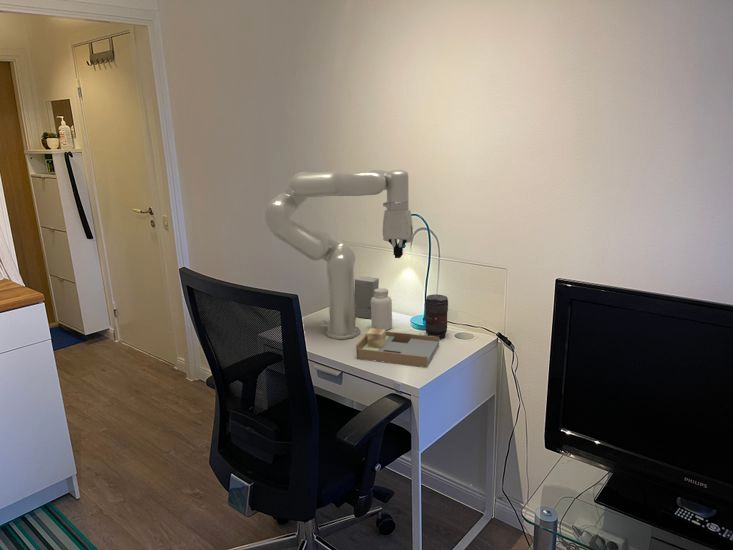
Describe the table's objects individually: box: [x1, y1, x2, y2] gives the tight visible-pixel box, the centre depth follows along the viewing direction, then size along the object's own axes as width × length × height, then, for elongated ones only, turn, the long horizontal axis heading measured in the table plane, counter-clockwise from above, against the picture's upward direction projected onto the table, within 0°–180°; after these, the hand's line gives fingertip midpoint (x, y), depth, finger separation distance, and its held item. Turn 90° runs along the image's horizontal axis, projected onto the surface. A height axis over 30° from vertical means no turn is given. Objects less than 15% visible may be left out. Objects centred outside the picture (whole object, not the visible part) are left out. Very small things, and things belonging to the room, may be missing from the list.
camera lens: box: [424, 294, 449, 340], centre depth 204 cm, size 8×8×15 cm
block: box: [366, 327, 387, 348], centre depth 193 cm, size 5×5×5 cm
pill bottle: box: [370, 287, 393, 331], centre depth 214 cm, size 8×8×15 cm
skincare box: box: [354, 275, 380, 320], centre depth 227 cm, size 8×7×16 cm
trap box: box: [355, 326, 440, 368], centre depth 192 cm, size 24×18×5 cm
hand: (398, 257), depth 202 cm, fingers closed
